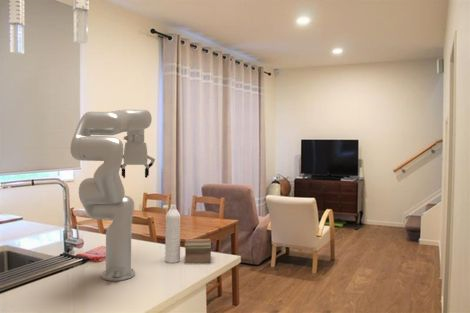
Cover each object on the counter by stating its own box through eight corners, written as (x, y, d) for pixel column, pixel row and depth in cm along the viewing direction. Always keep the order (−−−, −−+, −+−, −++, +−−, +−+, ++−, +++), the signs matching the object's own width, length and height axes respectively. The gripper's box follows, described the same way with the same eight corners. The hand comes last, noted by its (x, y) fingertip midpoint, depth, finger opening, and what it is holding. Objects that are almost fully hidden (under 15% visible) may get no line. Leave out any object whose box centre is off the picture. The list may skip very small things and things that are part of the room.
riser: (210, 263, 167) (211, 245, 167) (184, 263, 166) (185, 245, 165) (209, 255, 178) (210, 238, 178) (185, 256, 177) (185, 238, 177)
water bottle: (173, 257, 174) (174, 203, 173) (182, 260, 170) (183, 204, 169) (157, 261, 168) (158, 205, 167) (167, 265, 163) (167, 207, 162)
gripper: (115, 138, 164) (115, 178, 165) (156, 139, 170) (155, 178, 171) (114, 139, 171) (114, 177, 172) (153, 139, 177) (153, 176, 178)
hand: (135, 177), depth 172 cm, fingers open, 9 cm apart
